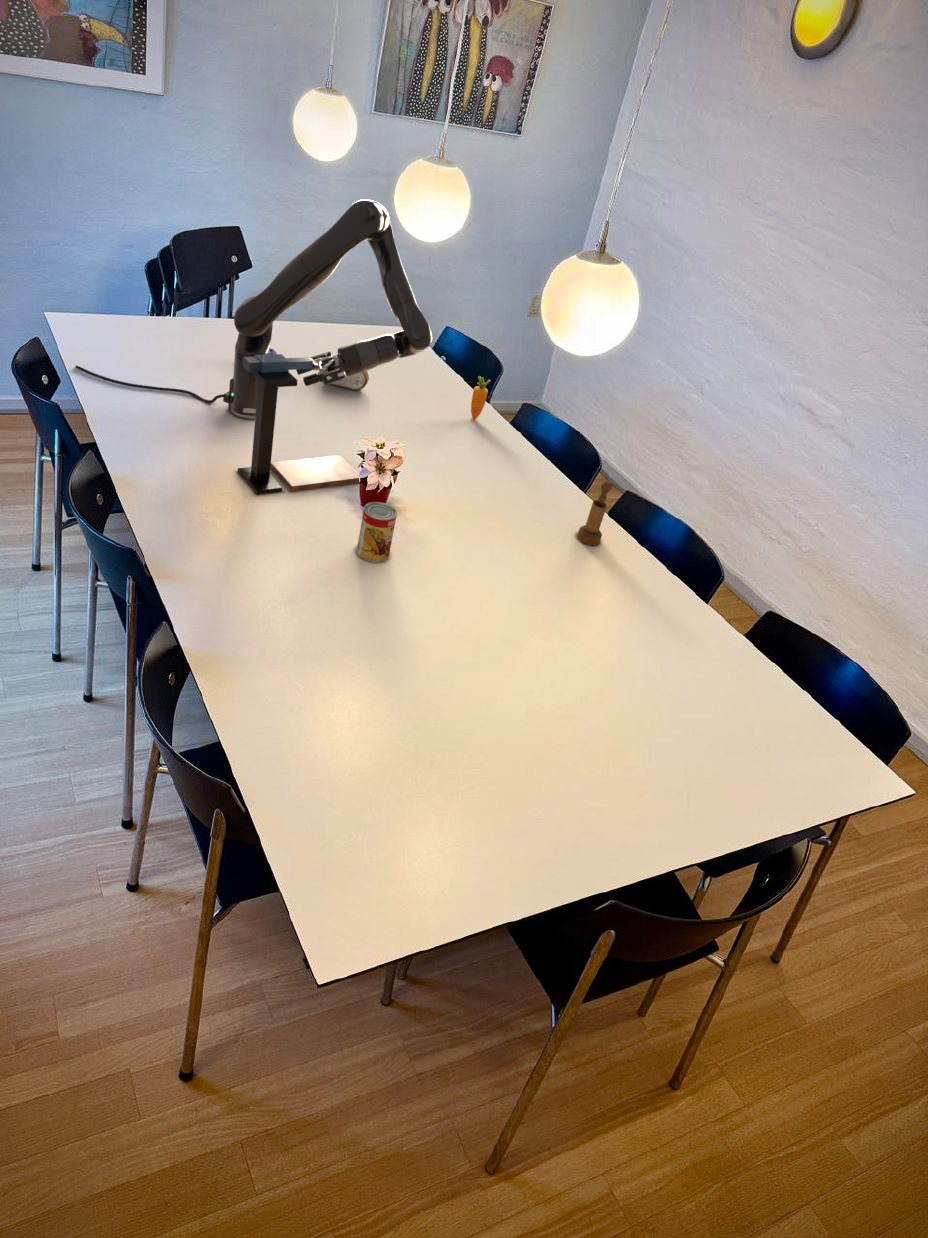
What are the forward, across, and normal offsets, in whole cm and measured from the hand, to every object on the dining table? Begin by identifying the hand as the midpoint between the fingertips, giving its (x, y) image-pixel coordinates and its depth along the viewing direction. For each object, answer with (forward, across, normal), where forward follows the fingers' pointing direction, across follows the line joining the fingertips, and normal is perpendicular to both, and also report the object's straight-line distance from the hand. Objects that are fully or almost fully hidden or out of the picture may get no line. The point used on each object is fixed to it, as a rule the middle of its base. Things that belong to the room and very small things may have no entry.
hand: (300, 376), depth 229 cm
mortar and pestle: (-58, +39, +53) cm, 88 cm away
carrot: (-54, -32, +46) cm, 78 cm away
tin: (-19, -53, +30) cm, 63 cm away
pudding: (+2, -66, +20) cm, 69 cm away
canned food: (+1, +44, +30) cm, 53 cm away
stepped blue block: (+5, +12, -8) cm, 15 cm away
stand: (+19, +10, +20) cm, 29 cm away
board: (+4, +6, +25) cm, 26 cm away
